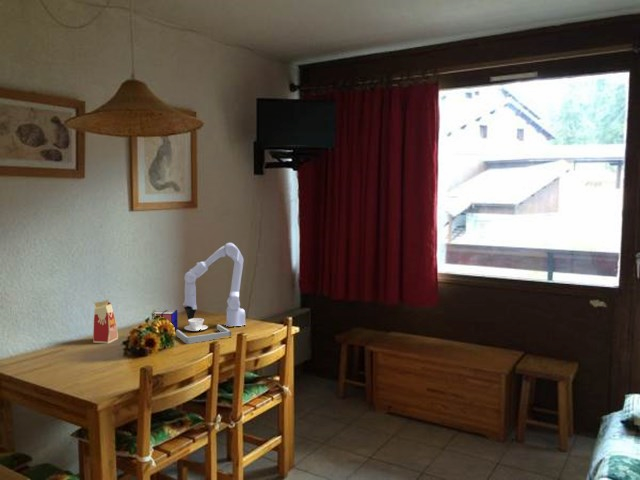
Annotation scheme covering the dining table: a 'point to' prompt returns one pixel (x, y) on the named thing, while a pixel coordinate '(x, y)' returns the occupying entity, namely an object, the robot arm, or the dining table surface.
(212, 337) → the tray
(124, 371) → the dining table surface
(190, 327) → the teacup
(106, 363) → the dining table surface
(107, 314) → the milk carton
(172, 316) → the puzzle cube
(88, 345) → the dining table surface
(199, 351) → the dining table surface
